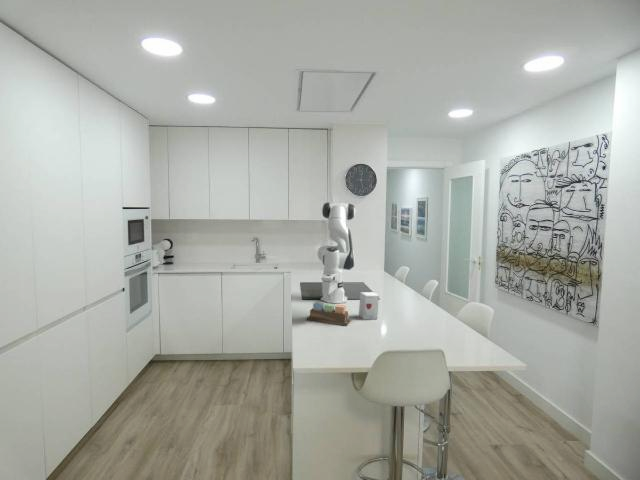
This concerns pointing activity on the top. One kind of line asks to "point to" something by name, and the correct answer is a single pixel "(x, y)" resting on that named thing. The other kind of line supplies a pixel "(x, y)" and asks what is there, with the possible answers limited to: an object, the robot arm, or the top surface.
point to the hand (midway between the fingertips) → (329, 299)
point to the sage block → (329, 307)
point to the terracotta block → (340, 309)
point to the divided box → (329, 317)
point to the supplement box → (368, 305)
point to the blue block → (318, 306)
